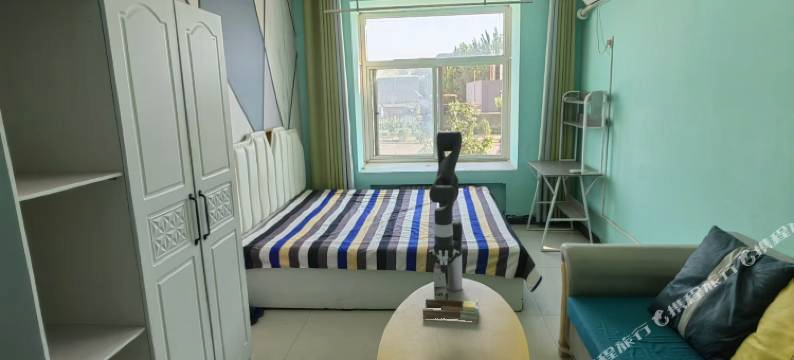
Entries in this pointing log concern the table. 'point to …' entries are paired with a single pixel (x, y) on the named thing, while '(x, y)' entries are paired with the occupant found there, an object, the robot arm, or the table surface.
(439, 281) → the coffee box
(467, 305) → the ochre block
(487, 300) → the table surface
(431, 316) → the channel
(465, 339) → the table surface
